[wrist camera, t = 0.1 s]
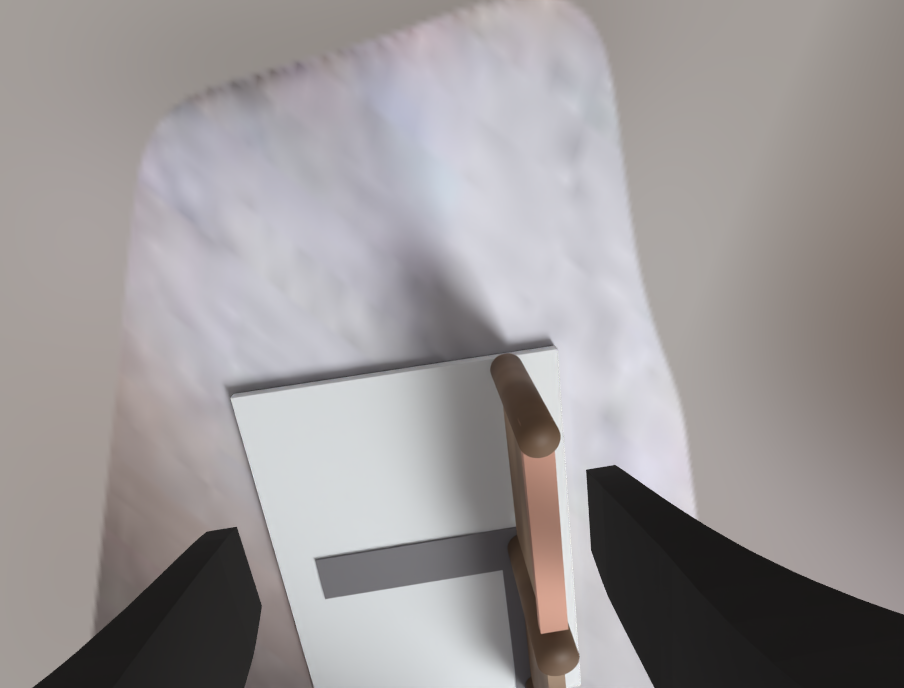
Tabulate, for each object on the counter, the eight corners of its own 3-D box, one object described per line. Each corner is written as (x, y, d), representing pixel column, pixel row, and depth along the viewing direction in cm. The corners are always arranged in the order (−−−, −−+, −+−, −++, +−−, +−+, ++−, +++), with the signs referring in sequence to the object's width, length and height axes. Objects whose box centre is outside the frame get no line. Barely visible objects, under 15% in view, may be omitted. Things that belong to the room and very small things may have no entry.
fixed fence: (553, 688, 27) (591, 823, 21) (524, 693, 27) (554, 829, 21) (538, 528, 24) (578, 639, 18) (505, 534, 24) (535, 647, 18)
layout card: (578, 678, 27) (581, 687, 27) (327, 721, 27) (325, 731, 26) (554, 345, 21) (558, 350, 21) (233, 393, 21) (229, 399, 20)
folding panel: (538, 529, 23) (574, 633, 18) (508, 534, 23) (537, 639, 18) (521, 350, 20) (559, 416, 16) (488, 355, 20) (516, 423, 15)
